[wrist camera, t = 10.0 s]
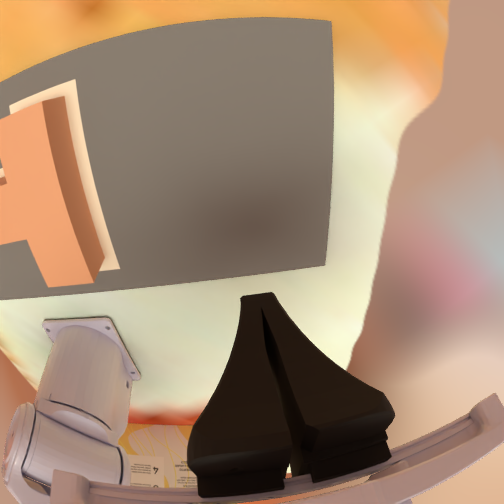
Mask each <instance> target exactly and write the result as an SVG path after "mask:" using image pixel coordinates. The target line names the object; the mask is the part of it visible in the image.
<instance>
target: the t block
mask: <svg viewBox="0 0 504 504" xmlns="http://www.w3.org/2000/svg"><path fill="white" fill-rule="evenodd" d="M0 159H1V163H2V167H3V171H4V174H5V176H4V177H1V178H0V245H2V244H7V243H11V242H16V241H21V240H26V239H27V242H28V244H29V246H30V249H31V251H32V253H33V256H34V258H35V260H36V263H37V265H38V267H39V269H40V271H41V273H42V276H43V278H44V280H45V282H46V284H47V286H48V288H49V287H59V286H69V285H78V284H88V283H94V282H95V279H96V277H97V275H98V272H99V270H100V268H101V265H102V263H103V261H104V259H105V256H104V254H103V251H102V248H101V245H100V242H99V239H98V236H97V233H96V230H95V226H94V223H93V220H92V217H91V213H90V210H89V207H88V203H87V200H86V196H85V192H84V189H83V185H82V181H81V177H80V173H79V169H78V165H77V160H76V156H75V151H74V147H73V142H72V137H71V132H70V126H69V121H68V115H67V109H66V102H65V96H62V97H57V98H53V99H49V100H45V101H41V102H39V103H36V104H34V105H31V106H29V107H27V108H24V109H22V110H20V111H17V112H15V113H13V114H11V115H9V116H6V117H4V118H2V119H0Z"/></svg>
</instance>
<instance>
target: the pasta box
mask: <svg viewBox="0 0 504 504" xmlns="http://www.w3.org/2000/svg"><path fill="white" fill-rule="evenodd" d="M192 427H193V425H150V424H134V423H128V424H127V427H126V430H125V432H124V433H123V435H122V436H121V437H120V438H119V439H118V445H120V446H122V447H123V448H124V450H125V451H126V453H127V455H128V459H129V461H130V465H131V482H130V486H140V487H158V488H197V476H196V475H195V474H194V473H193V472H192V471H191V470H190V469H189V468H188V466H187V446H188V441H189V437H190V433H191V430H192ZM233 504H237V503H233Z"/></svg>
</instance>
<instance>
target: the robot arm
mask: <svg viewBox="0 0 504 504" xmlns="http://www.w3.org/2000/svg"><path fill="white" fill-rule="evenodd" d="M240 301H241V310H240V319H239V324H238V329H237V334H236V338H235V341H234V345H233V348H232V351H231V354H230V357H229V360H228V363H227V365H226V368H225V370H224V373H223V375H222V377H221V379H220V382H219V384H218V386H217V388H216V390H215V391H214V393H213V395H212V397H211V399H210V400H209V402H208V404H207V406H206V407H205V409H204V410H203V412H202V413H201V415H200V416H199V418H198V419H197V421H196V422H195V424H194V425H193V427H192V430H191V433H190V437H189V441H188V446H187V466H188V468H189V469H190V470H191V471H192V472H193V473H194V474H195V475H196V476H197V488H158V487H140V486H130V482H131V465H130V461H129V459H128V455H127V453H126V451H125V450H124V448H123V447H122V446H120V445H118V439H119V438H120V437H121V436H122V435H123V433H124V432H125V430H126V427H127V424H128V415H129V405H130V396H131V388H132V380H140V379H141V375H140V374H139V372H138V370H137V368H136V367H135V365H134V363H133V361H132V359H131V358H130V356H129V354H128V352H127V350H126V348H125V347H124V345H123V343H122V341H121V339H120V337H119V335H118V333H117V331H116V329H115V327H114V325H113V323H112V321H111V320H110V319H109V318H105V317H104V318H88V319H70V320H46V321H43V323H42V326H43V328H44V330H45V331H46V333H47V334H48V336H49V337H50V339H51V340H52V342H53V343H54V344H53V347H52V349H51V352H50V355H49V358H48V360H47V363H46V366H45V369H44V372H43V375H42V378H41V381H40V385H39V388H38V391H37V395H36V398H35V401H34V404H33V405H32V404H31V403H29V402H26V403H25V404H21V405H19V406H18V408H17V410H16V411H15V414H14V416H13V419H12V421H11V424H10V427H9V431H8V434H7V438H6V443H5V449H4V459H3V464H2V476H3V478H4V483H5V485H6V487H7V489H8V490H9V491H10V493H11V494H12V495H13V496H14V498H15V499H16V500H17V501H18V502H19V504H233V503H244V502H253V501H260V500H268V499H275V498H281V497H286V496H291V495H297V494H302V493H306V492H311V491H315V490H319V489H323V488H327V487H331V486H334V485H338V484H342V483H345V482H349V481H352V480H355V479H358V478H361V477H364V476H368V475H370V474H373V473H375V474H373V475H371V476H370V477H369V479H368V480H367V481H366V482H364V483H361V484H358V485H355V486H351V487H347V488H344V489H340V490H336V491H333V492H328V493H324V494H320V495H316V496H312V497H307V498H303V499H298V500H294V501H289V502H284V503H279V504H412V501H411V498H413V497H415V496H417V495H419V494H422V493H424V492H426V491H427V490H430V489H431V488H433V487H435V486H437V485H439V484H441V483H443V482H444V481H446V480H448V479H450V478H451V477H453V476H455V475H457V474H458V473H460V472H461V471H463V470H465V469H466V468H468V467H470V466H471V465H473V464H474V463H476V462H477V461H479V460H480V459H482V458H483V457H485V456H486V455H488V454H489V453H490V452H492V451H493V450H494V449H496V448H497V447H499V446H500V445H501V444H502V443H504V407H503V405H502V403H501V402H500V400H499V398H498V396H497V395H496V393H493V394H492V395H490V396H489V397H487V398H485V399H484V400H482V401H481V402H479V403H478V404H476V405H475V406H474V407H473V408H472V409H471V411H470V412H469V413H467V414H466V415H464V416H462V417H460V418H458V419H456V420H455V421H453V422H451V423H449V424H447V425H445V426H443V427H441V428H439V429H437V430H435V431H433V432H431V433H428V434H426V435H424V436H422V437H420V438H417V439H415V440H413V441H410V442H408V443H406V444H403V445H401V446H398V447H396V448H393V449H391V450H389V448H388V445H387V442H386V440H387V439H388V436H387V434H386V431H385V430H386V429H387V428H388V426H389V425H390V424H391V423H392V421H393V419H394V417H395V413H394V410H393V408H392V406H391V404H390V402H389V401H388V399H387V398H386V396H385V395H384V393H383V392H381V391H379V390H377V389H375V388H373V387H371V386H369V385H367V384H366V383H364V382H362V381H361V380H359V379H357V378H356V377H354V376H352V375H351V374H350V373H348V372H347V371H345V370H344V369H343V368H341V367H340V366H338V365H337V364H336V363H334V362H333V361H332V360H331V359H330V358H328V357H327V356H326V355H325V354H324V353H323V352H321V351H320V350H319V349H318V348H317V347H316V346H315V345H314V344H313V343H312V342H311V341H310V340H309V339H308V338H307V337H306V336H305V335H304V334H303V333H302V331H301V330H300V329H299V328H298V327H297V325H296V324H295V323H294V322H293V321H292V319H291V318H290V317H289V316H288V314H287V313H286V311H285V310H284V309H283V307H282V306H281V304H280V303H279V301H278V300H277V298H276V296H275V294H274V293H272V292H269V293H261V294H254V295H246V296H242V297H241V298H240ZM108 326H109V327H108ZM289 464H290V467H291V473H292V477H291V478H287V479H286V478H285V477H286V472H287V467H289ZM376 472H377V473H376ZM26 476H27V477H26ZM28 477H29V478H28ZM30 478H31V479H30ZM32 479H33V480H32ZM34 480H36V481H38V482H36V481H34ZM39 482H41V483H43V484H41V483H39ZM44 484H45V485H44ZM46 485H48V486H50V487H48V486H46Z"/></svg>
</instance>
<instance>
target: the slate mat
mask: <svg viewBox="0 0 504 504" xmlns="http://www.w3.org/2000/svg"><path fill="white" fill-rule="evenodd" d="M62 96H65V102H66V109H67V115H68V121H69V126H70V132H71V137H72V142H73V147H74V151H75V156H76V160H77V165H78V169H79V173H80V177H81V181H82V185H83V189H84V192H85V196H86V200H87V203H88V207H89V210H90V213H91V217H92V220H93V223H94V226H95V230H96V233H97V236H98V239H99V242H100V245H101V248H102V251H103V254H104V256H105V259H104V261H103V263H102V265H101V268H100V270H99V272H98V275H97V277H96V279H95V282H94V283H88V284H78V285H69V286H59V287H49V288H48V286H47V284H46V282H45V280H44V278H43V276H42V273H41V271H40V269H39V267H38V265H37V263H36V260H35V258H34V256H33V253H32V251H31V249H30V246H29V244H28V242H27V239H26V240H21V241H16V242H11V243H7V244H2V245H0V300H9V299H23V298H36V297H48V296H60V295H71V294H83V293H93V292H104V291H114V290H124V289H134V288H144V287H153V286H163V285H172V284H181V283H190V282H199V281H207V280H216V279H224V278H232V277H241V276H249V275H257V274H265V273H272V272H280V271H288V270H295V269H303V268H310V267H317V266H324V265H325V261H326V251H327V240H328V228H329V215H330V200H331V183H332V162H333V128H334V74H333V42H332V23H331V21H325V20H314V19H300V18H275V17H255V18H229V19H215V20H205V21H196V22H188V23H181V24H174V25H168V26H162V27H157V28H152V29H147V30H142V31H137V32H133V33H129V34H125V35H121V36H117V37H113V38H110V39H106V40H103V41H99V42H96V43H93V44H90V45H87V46H84V47H81V48H78V49H75V50H72V51H69V52H67V53H64V54H61V55H59V56H56V57H54V58H51V59H49V60H46V61H44V62H42V63H39V64H37V65H35V66H33V67H30V68H28V69H26V70H24V71H22V72H20V73H18V74H16V75H14V76H12V77H10V78H8V79H6V80H4V81H2V82H0V119H2V118H4V117H6V116H9V115H11V114H13V113H15V112H17V111H20V110H22V109H24V108H27V107H29V106H31V105H34V104H36V103H39V102H41V101H45V100H49V99H53V98H57V97H62ZM4 176H5V174H4V171H3V167H2V163H1V159H0V178H1V177H4Z"/></svg>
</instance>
